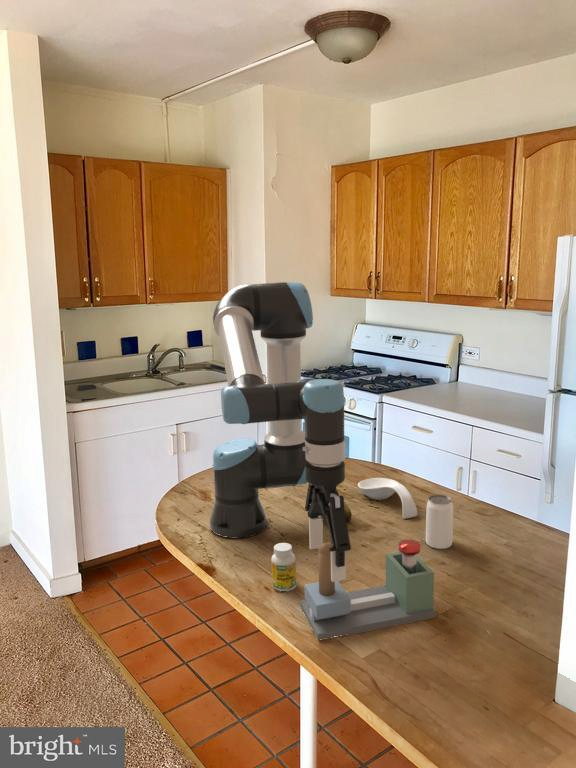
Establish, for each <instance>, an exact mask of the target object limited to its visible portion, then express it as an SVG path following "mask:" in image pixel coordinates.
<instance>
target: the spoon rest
mask: <svg viewBox="0 0 576 768" xmlns="http://www.w3.org/2000/svg"><path fill="white" fill-rule="evenodd" d="M357 487H358V489H359V491H360V492H361V493H362V494H363V495H365V496H367V497H368V498H369V499H371V500H377V501H383V500H386V499H388V498H389V497H391V496H393V495H394V494H395V493H396V494H397V495H398V496H399V499H400V502H401V506H402V508H401V509H402V512H401V513H402V519H403V520H406V519H410V518H414V517H415V518H416V517H417V516H418V508H417V505H416V502H415V500H414V498H413V496H412V495H411V493H410V491H409V490H408V488H407V487H406V486H404V485H403V484H401V483H400V482H398V481H396V480H394V479H391V478H387V477H372V478H366V479H362V480H361V481H359V482H358V483H357Z"/></svg>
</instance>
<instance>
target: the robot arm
mask: <svg viewBox="0 0 576 768" xmlns="http://www.w3.org/2000/svg"><path fill="white" fill-rule="evenodd" d="M311 302H312V301H311V298H310V294H309V292H308V289H307V287H306V286H305V285H304V284H303V283H301V282H292V281H291V282H288V281H282V282H279V281H278V282H266V283H265V282H264V283H245V284H241V285H237V286H234V287H233V288H232V289H230V290H229V291H227V292H226V293H225V294H224V295H223V296H222V297H221V299H219V301H218V302H217V304H216V306H215V309H214V311H213V316H212V317H213V318H212V320H213V321H212V323H213V329H214V332H215V333H216V335H217V336H218V337H219V340H220V345H221V352H222V357H223V358H222V359H223V362H224V367H225V368H224V369H225V375H226V380H227V386H225V387H223V388H222V389H221V391H220V403H221V414H222V419H223V422H224V423H225V424H228V425H235V424H236V425H237V424H238V425H240V424H241V425H247V424H248V425H249V424H258V423H266V422H268V423H269V431H268V432H267V434H265V435H264V438H263V442H264V444H258V443H257V441H256V440H254V439H252V438H246V437H245V438H236V439H232V440H231V439H230V440H229V441H225V442H223V443H221V444H220V445H218V446H217V447H216V448H215V449H214V450H213V454H212V465H211V466H212V469H213V481H214V483H213V485H214V497H215V498H214V504H213V507H212V511H211V514H210V519H209V528H211V529H212V531H214V532H215V533H217V534H220V535H222V536H227V537H244V538H247V537H246V536H249V537H252V536H251V535H253V536H255V535H257V533H258V534H259V532H260V533H261V532H263V531H264V530H265V529H266V527H267V517H266V513H265V510H264V508H263V506H262V502H261V500H260V498H259V490H261V489H272V488H283V487H296V486H300V485H306V484H308V486H307V487H308V488H307V493H306V499H305V503H304V504H305V505H304V510H305V511H306V512H307V516H308V532H309V533H308V535H309V537H308V539H309V547H308V548H309V550H316V549H319V546H320V545H321V544H322V543H324V539H323V538H324V532H323V531H324V530H323V526H324V525H323V519H322V517H321V516H323V515H324V516H325V517H326V521H327V522H326V521H325V522H326V525H327V529H328V533H329V537H330V544H331V545H332V547H331V548H330V549H329V551H330V552H331V581H332V582H335V581H338V582H339V581H346V580H347V554H346V553H347V552H348V551H351V549H352V547H351V541H350V535H349V529H348V523H347V522H346V516H345V510H344V502H345V498H344V496H343V495H339V492H338V490H337V487H338V486H339V485H340V484H342V483H343V482H344V481H345V479H346V464H345V463H346V462H345V459H346V441H345V403H346V398H345V391H344V385H343V383H342V382H341V381H339V380H335V379H330V378H319V379H318V378H317V379H316V378H314V377H313V378H312V377H302V369H301V364H302V363H301V357H302V356H301V342H302V341H303V340H304V339H305V338H306V336H307V329H310V328H312V326H313V323H314V317H313V306H312V303H311ZM253 331H259V332H260V338H261V339H262V340H263V341H264V342H265V343H266V351H267V352H266V356H267V361H266V362H267V383H266V382H265V379H264V375H263V371H262V365H261V363H260V359H259V353H258V351H257V346H256V343H255V337H254V335H253ZM303 421H304V425H303ZM303 426H304V431H303ZM329 509H330V510H329ZM211 529H210V530H211ZM263 529H264V530H263ZM212 531H211V532H212ZM254 534H255V535H254Z"/></svg>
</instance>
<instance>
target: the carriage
mask: <svg viewBox="0 0 576 768" xmlns="http://www.w3.org/2000/svg"><path fill="white" fill-rule="evenodd" d="M331 547H332V543H331V542H323V543H322V544H321V545H320V546H319V548H317V549H318V551H317V556H318V558H317V559H318V561H317V562H318V564H317V565H318V581H317V582H312V583H305V584H304V585H303V586H304V600H306V601H307V603H308V611H309V607H310V608H311V610H312V617H313V620H314V621H316V620H321V619H327V618H332V617H337V616H342V615H347V614H348V613H351V607H350V598H349V596H348V595H347V594H346V592H347V591H346V590H345V589H344V587H343V586H342V585H341V583H340V582H339V581H335V582H332V581H331V552H330V551H329V549H330V548H331ZM309 612H310V611H309Z"/></svg>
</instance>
